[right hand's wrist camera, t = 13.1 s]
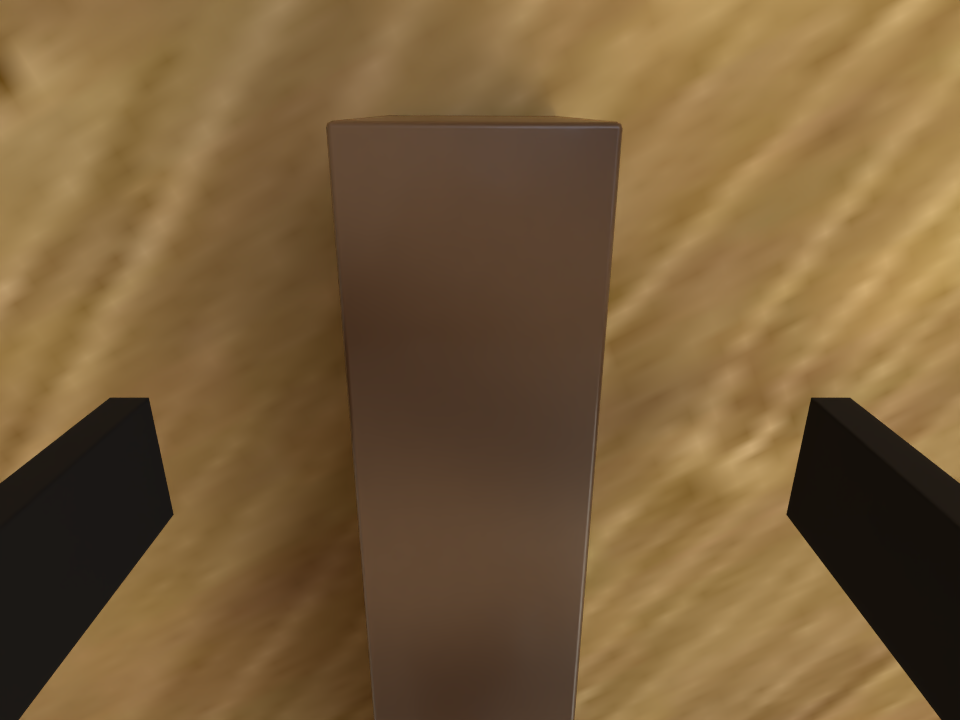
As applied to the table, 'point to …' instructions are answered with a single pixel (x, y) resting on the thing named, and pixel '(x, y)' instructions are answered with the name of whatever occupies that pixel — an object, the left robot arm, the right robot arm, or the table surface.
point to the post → (474, 398)
